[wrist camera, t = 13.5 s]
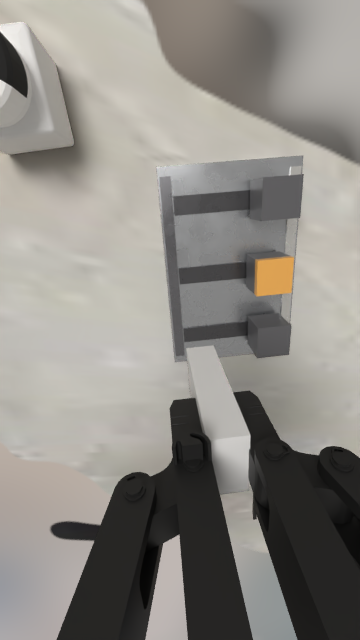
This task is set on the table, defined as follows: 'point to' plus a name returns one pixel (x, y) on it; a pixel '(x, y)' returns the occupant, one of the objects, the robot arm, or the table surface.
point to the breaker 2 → (268, 335)
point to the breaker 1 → (276, 197)
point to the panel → (219, 250)
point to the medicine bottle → (29, 94)
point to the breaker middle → (269, 273)
